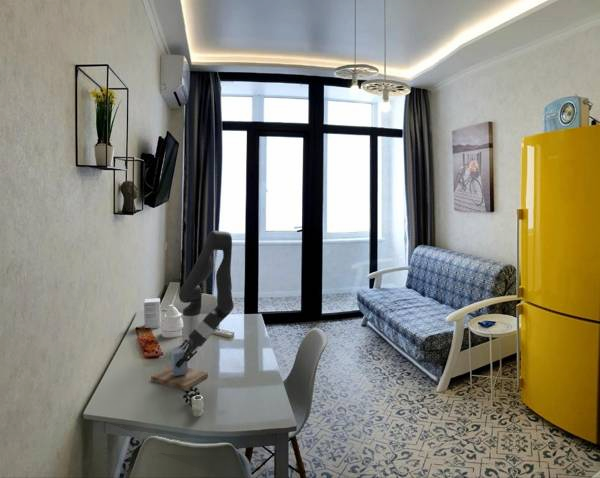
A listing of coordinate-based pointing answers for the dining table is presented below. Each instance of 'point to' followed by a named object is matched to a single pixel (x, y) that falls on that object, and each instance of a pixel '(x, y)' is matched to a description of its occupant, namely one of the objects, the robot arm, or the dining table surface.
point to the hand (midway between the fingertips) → (175, 364)
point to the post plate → (179, 378)
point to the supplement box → (152, 313)
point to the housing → (176, 357)
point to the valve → (195, 401)
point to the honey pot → (172, 323)
